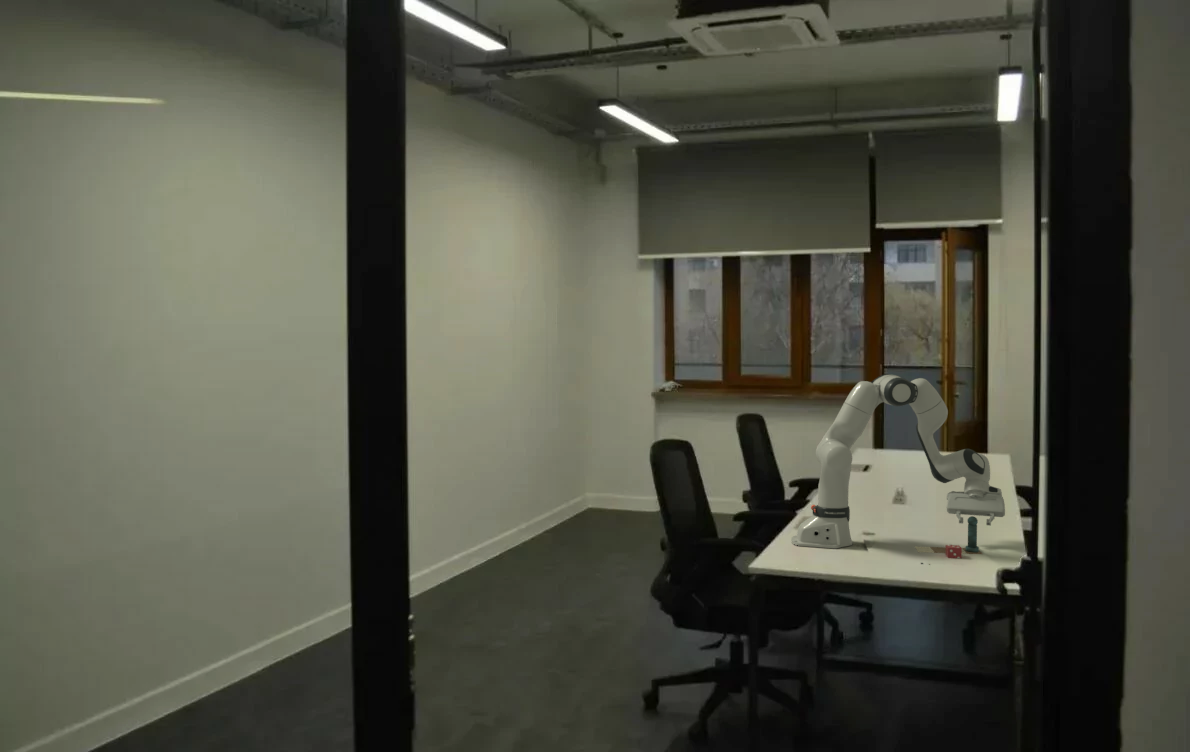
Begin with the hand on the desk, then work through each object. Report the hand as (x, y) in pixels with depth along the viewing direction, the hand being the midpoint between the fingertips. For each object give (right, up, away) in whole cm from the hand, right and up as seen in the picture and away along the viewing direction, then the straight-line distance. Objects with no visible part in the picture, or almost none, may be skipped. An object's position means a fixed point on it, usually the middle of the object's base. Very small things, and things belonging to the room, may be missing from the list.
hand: (974, 523), depth 352 cm
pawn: (-4, -9, -8) cm, 13 cm away
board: (-12, -10, -7) cm, 17 cm away
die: (-14, -10, -16) cm, 24 cm away
